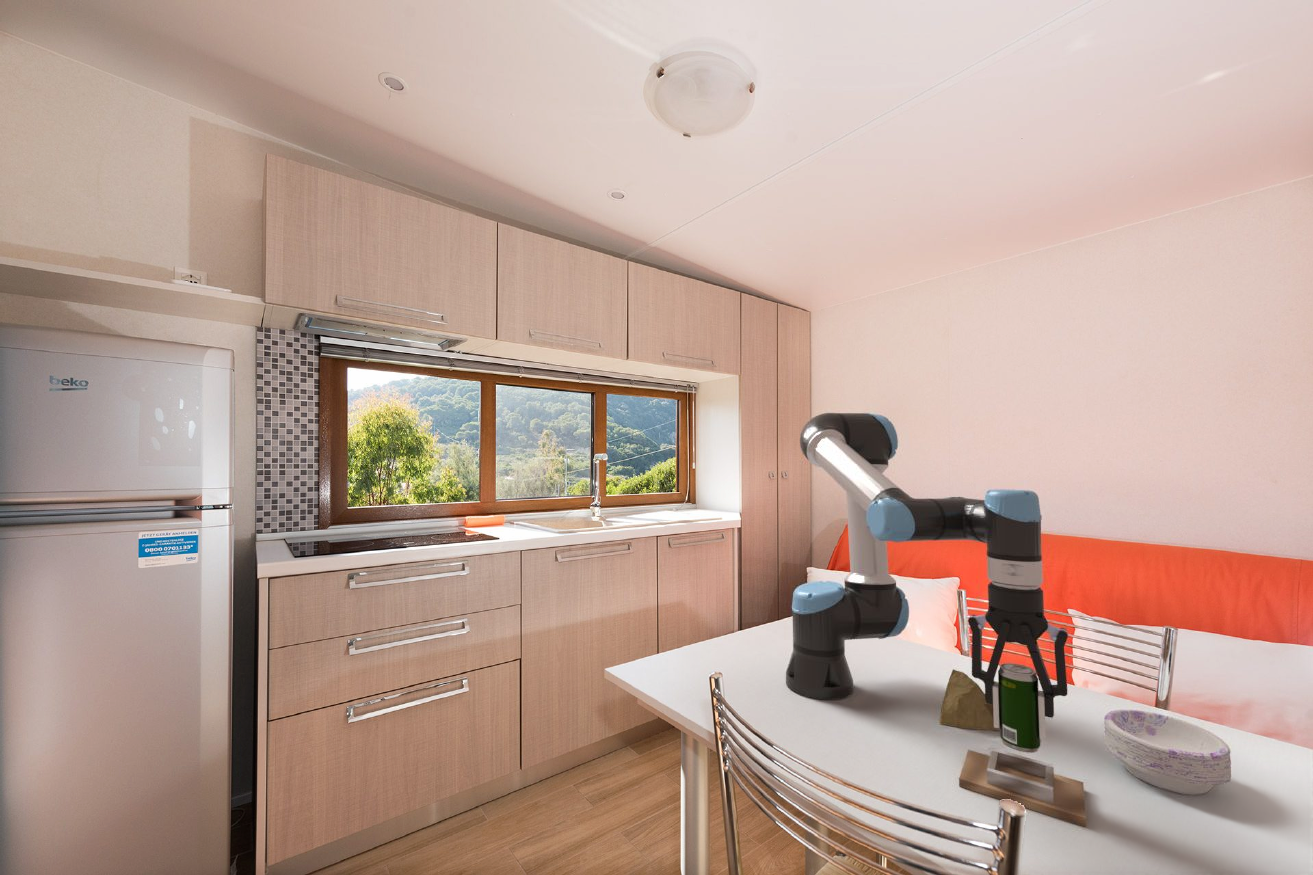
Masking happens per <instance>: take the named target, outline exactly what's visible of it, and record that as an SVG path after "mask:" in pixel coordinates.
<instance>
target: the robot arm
mask: <svg viewBox="0 0 1313 875" xmlns="http://www.w3.org/2000/svg"><path fill="white" fill-rule="evenodd" d="M799 435H800V437H799V446H800V450H801V452H802V454H803V456H804V457H805V458H806V459H807V461H809V463H811V465H813V466H814V467H817V468H821V469H823V470H824V472H826V473H827V475H829V476H830V477H831V478H832V479H833V480H834V481H835V482H836V483H837V484H838V485H839V486H840V487H841V488H842V489H843V490H844V491H845V494H846V495H845V496H846V510H847V513H846V514H847V532H848V550H849V552H848V553H849V567H850V572H849V573H848V574H847V575H846V576H845V577H844V586H843V585H842V584H841V583H839V582H836V581H829V580H828V581H821V580H820V581H819V580H818V581H811V582H806V583H803V584H801V585H798V586H797V587H796V588H795V590H793V593H792V604H791V610H792V652H791V654H790V655H791V656H790V658H789V662H788V665H787V668H786V671H785V685H786V686H787V687H788V689H790V690H791V691H792V692H794V693H796V694H799V695H802V696H805V697H808V698H811V699H817V700H818V699H820V700H838V699H839V700H841V699H843V698H848V697H850V696H851V695H852V694H853V693H854V680H853V676H852V673H851V670H850V667H849V664H848V660H847V658H846V654H845V653H846V652H845V650H846V648H845V647H846V646H845V641H847V640H848V641H849V640H866V639H867V640H868V639H878V640H880V639H881V640H882V639H886V638H892V637H897V636H899V635H901V634H902V632H903V631H904V630H905V629H906V628H907V625H908V622H909V617H910V606H909V602H908V598H906V594H905V592H904V591H903V590H902V589H901V588H899V587H898V586H897V580H896V579H895V578H894V577H892V576H891V575H890V573H889V561H888V558H889V557H888V545H887V543H888V542H892V543H906V542H921V541H922V542H923V541H924V542H926V541H930V542H931V541H972V542H977V543H978V542H979V543H983V544H986V549H987V550H986V557H987V558H986V561H987V562H986V564H987V565H986V566H987V571H986V572H987V579H988V580H989V581H990V582H989V584H987V597H988V598H987V599H988V601H987V602H988V609H987V611H986V613H985V614H981V615H975V614H971V615H970V616H969V617H968V620H967V622H968V625H969V628H970V630H971V676H972V677H973V678H974V679H979V681H980V680H981V681H982V682H983V683H984V693H985V700H986V702H987V703H989V704H993V715H994V727H995V728H1000V712H999V683H998V681H995V677H996V674H997V672H998V671H997V670H998V669H999V666H1000V661H1001V658H1002V655H1003V652H1004V648H1005V644H1006V643H1013V644H1014V643H1015V644H1016V643H1017V644H1019V645H1023V646H1026V647H1027V651H1028V653H1029V655H1030V658H1031V660H1032V664H1033V667H1034V670H1035V671H1036V676H1037V678H1038V682H1039V684H1040V686H1041V689H1042V690H1039V694H1038V706H1039V734H1040V740H1042V741H1043V740H1044V741H1046V740H1047V736H1046V735H1047V730H1046V729H1047V728H1046V718H1051V719H1053V718H1054V716H1055V706H1054V705H1055V704H1054V703H1055V702H1054V698H1055V697H1058V696H1062V697H1066V696H1068V682H1067V668H1066V654H1065V646H1066V642H1067V640H1068V638H1069V632H1068V630H1067V628H1065V627H1057V626H1055V625H1053V624H1050V623H1049V622H1048V619H1047V618H1046V616H1045V609H1044V607H1045V606H1044V605H1045V604H1044V590H1043V589H1042V588H1041V587H1042V585H1043V584H1044V580H1043V577H1044V576H1043V574H1044V573H1043V572H1044V571H1043V559H1042V558H1043V557H1042V516H1043V515H1042V513H1041V508H1040V507H1041V506H1040V500H1039V496H1038V494H1037V493H1036V492H1035V491H1033V490H1025V489H1003V488H1002V489H988V490H987V491H986V492H985V496H984V499H977V498H967V497H964V496H963V497H962V496H956V497H955V496H949V497H943V498H915V497H911V496H910V495H909V494H908V493H907V492H905V491H904V490H903V489H901V488H900V487H899V486H898V485H897V484H896V483H894V482H893V481H892V480H890V479H889V478H888V477H887V476H886V475H885V474H883V473H884V472H885V471H886V470H887V469H888V468H889V461H890V460H891V459H893V458H894V457H895V456H896V454H897V452H896V451H897V450H898V446H899V444H898V443H899V440H898V439H899V438H898V434H897V430H896V428H895V426H894V424H893V423H892V422H891V420H889V418H887V417H886V416H885V415H882V414H875V413H870V412H864V413H863V412H861V413H858V412H854V413H852V412H849V413H848V412H845V413H844V412H843V413H842V412H826V413H825V412H824V413H820V414H818V415H815V416H814V417H812V418H811V419H809V420H808V421H807V422H806V424H805V425H804V426H803V428H802V430H801V432H800V434H799ZM1040 586H1041V587H1040ZM986 623H988V625H989V626H990V627H991V629H992V630H993V631H994V633H995V634H996V635H997V638H996V642H995V645H994V647H993V649H992V654H991V656H990V657H991V658H990V660H989V663H988V665H987V666H988V667H987V670H986V671H985V670H984V669H983V661H982V660H983V648H982V647H983V629H985V628H986ZM1045 632H1047V633H1048V634H1049V638H1050V640H1051V641H1052V642H1054V660H1055V673H1056V674H1055V675H1056V684H1052V682H1051V678H1050V675H1049V673H1048V670H1047V668H1046V664H1045V662H1044V659H1043V656H1042V653H1041V651H1040V648H1039V647H1040V646H1039V644H1038V641H1037V640H1038V639H1039V638H1041V636H1043V634H1044V633H1045Z"/></svg>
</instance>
